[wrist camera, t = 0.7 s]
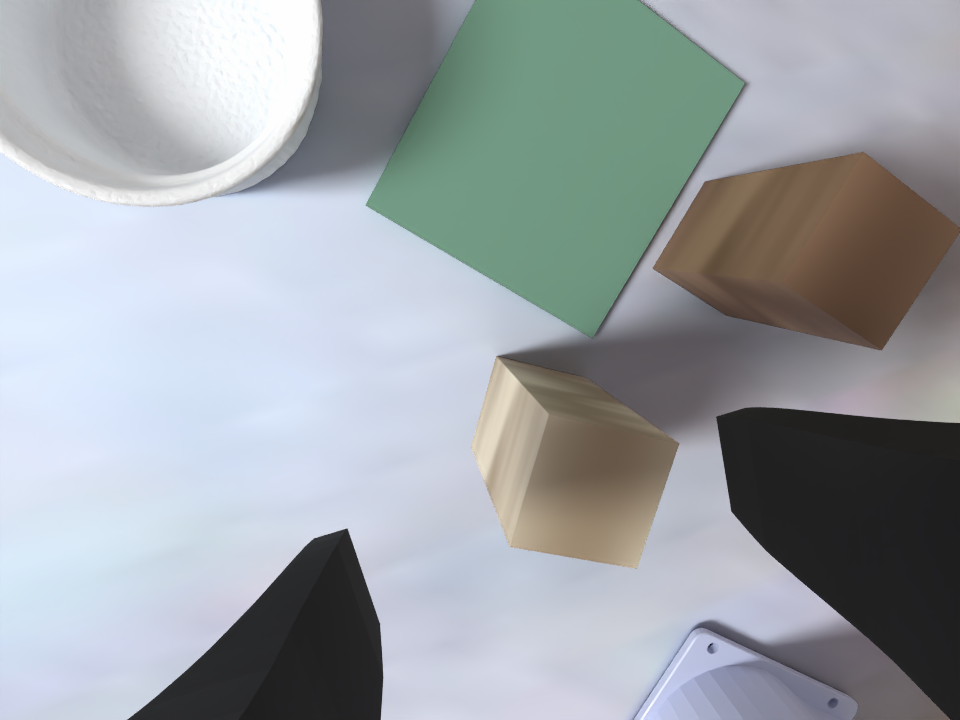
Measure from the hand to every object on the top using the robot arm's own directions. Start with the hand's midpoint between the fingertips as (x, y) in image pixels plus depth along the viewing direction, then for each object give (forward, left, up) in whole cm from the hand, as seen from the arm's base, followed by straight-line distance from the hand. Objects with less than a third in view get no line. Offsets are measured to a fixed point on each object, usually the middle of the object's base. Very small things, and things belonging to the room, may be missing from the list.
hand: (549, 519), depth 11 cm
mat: (+2, -9, -10) cm, 13 cm away
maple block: (-2, 0, -10) cm, 10 cm away
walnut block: (-5, -9, -10) cm, 14 cm away
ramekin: (+13, -5, -11) cm, 17 cm away
